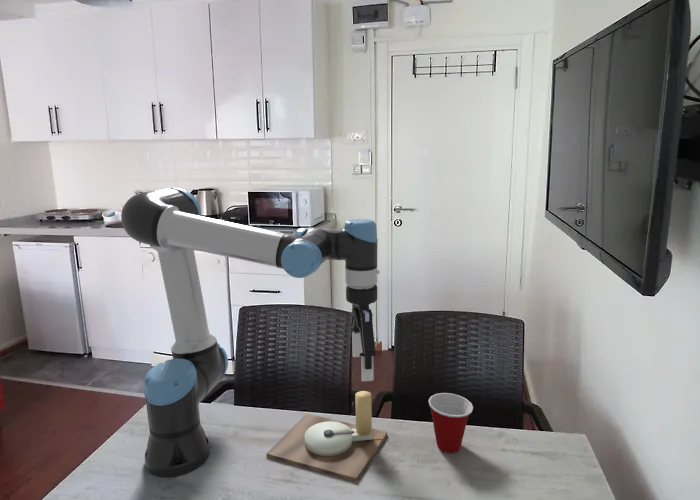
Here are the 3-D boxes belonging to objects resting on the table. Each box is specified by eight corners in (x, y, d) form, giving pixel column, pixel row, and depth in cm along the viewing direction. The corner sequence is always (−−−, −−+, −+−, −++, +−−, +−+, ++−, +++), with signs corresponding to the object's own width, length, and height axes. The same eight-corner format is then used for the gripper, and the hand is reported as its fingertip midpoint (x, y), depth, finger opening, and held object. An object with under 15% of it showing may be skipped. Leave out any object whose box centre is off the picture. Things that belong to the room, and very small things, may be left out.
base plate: (266, 457, 124) (266, 452, 123) (306, 416, 141) (306, 412, 141) (356, 482, 114) (356, 477, 114) (387, 435, 132) (387, 431, 131)
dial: (306, 458, 121) (304, 412, 118) (303, 430, 132) (301, 388, 130) (376, 451, 123) (375, 406, 120) (367, 424, 135) (367, 383, 132)
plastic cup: (472, 461, 120) (474, 416, 118) (426, 457, 122) (427, 412, 120) (471, 436, 130) (472, 393, 128) (428, 432, 133) (429, 390, 130)
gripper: (388, 299, 108) (388, 390, 113) (367, 270, 133) (368, 346, 137) (354, 301, 107) (355, 393, 112) (339, 272, 132) (340, 348, 136)
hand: (362, 367), depth 125 cm, fingers open, 13 cm apart
